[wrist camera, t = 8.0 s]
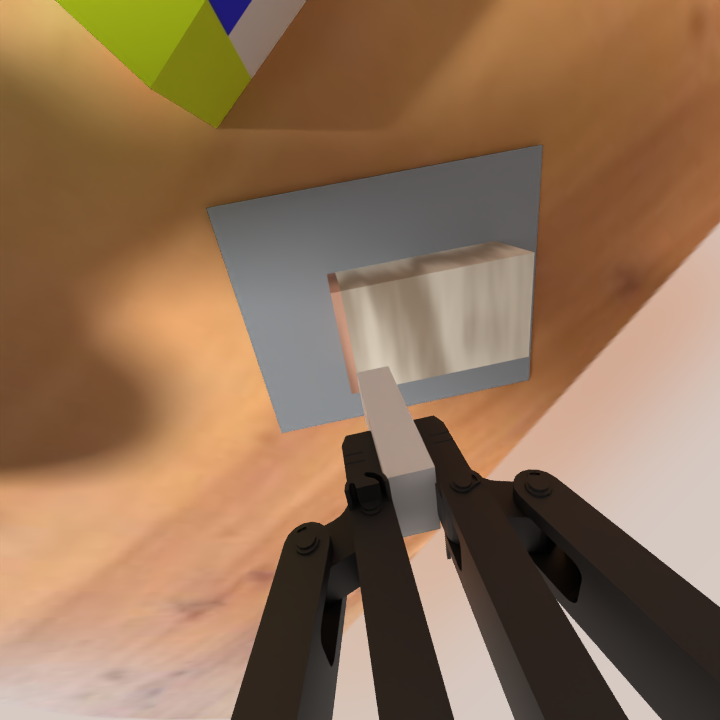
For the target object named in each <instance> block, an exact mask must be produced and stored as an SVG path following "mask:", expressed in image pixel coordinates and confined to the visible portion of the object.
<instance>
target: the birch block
mask: <svg viewBox="0 0 720 720" xmlns="http://www.w3.org/2000/svg"><path fill="white" fill-rule="evenodd" d="M533 271H534V252H531V251H528V250H524V249H521V248H518V247H514V246H511V245H508V244H505V243H501V242H498V241H492V242H486V243H481V244H476V245H471V246H466V247H461V248H456V249H451V250H446V251H441V252H436V253H431V254H426V255H421V256H416V257H411V258H406V259H401V260H396V261H391V262H386V263H381V264H376V265H370V266H365V267H360V268H355V269H350V270H345V271H340V272H335V273H330V274H327V278H328V283H329V288H330V293H331V298H332V303H333V308H334V312H335V317H336V322H337V327H338V331H339V336H340V341H341V346H342V350H343V355H344V360H345V365H346V369H347V374H348V379H349V384H350V388H351V393H352V394H355V393H360V389H359V384H358V379H357V374H356V373H358V372H362V371H367V370H372V369H376V368H381V367H386V366H389V369H390V371H391V373H392V375H393V377H394V379H395V382H396V384H402V383H407V382H412V381H416V380H421V379H426V378H430V377H435V376H440V375H445V374H449V373H454V372H459V371H463V370H468V369H473V368H478V367H482V366H487V365H492V364H496V363H501V362H506V361H511V360H515V359H520V358H525V357H529V342H530V324H531V306H532V289H533Z"/></svg>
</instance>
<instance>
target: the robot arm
mask: <svg viewBox="0 0 720 720" xmlns="http://www.w3.org/2000/svg"><path fill="white" fill-rule="evenodd" d="M356 374H357V379H358V384H359V389H360V394H361V400H362V405H363V410H364V415H365V420H366V424H367V428H368V431H366V432H362V433H357V434H353V435H348V436H346V437H345V439H344V442H343V444H342V450H343V457H344V464H345V471H346V478H347V482H346V484H345V495H346V499H347V502H348V506H347V508H346V509H345V511H344V512H343V513H342V514H341V516H340V517H338V518H337V519H335V520H334V521H332V522H330V523H329V524H327V525H325V526H323V525H322V524H320V523H316V522H309V523H304V524H302V525H300V526H298V527H296V528H295V529H294V530H293V531H292V532H291V533H290V534H289V535H288V537H287V539H286V541H285V543H284V546H283V549H282V553H281V556H280V559H279V563H278V566H277V569H276V573H275V576H274V579H273V582H272V586H271V589H270V592H269V596H268V599H267V602H266V605H265V609H264V612H263V615H262V619H261V622H260V625H259V629H258V632H257V635H256V638H255V642H254V645H253V648H252V652H251V655H250V658H249V661H248V665H247V668H246V671H245V675H244V678H243V681H242V685H241V688H240V691H239V694H238V698H237V701H236V704H235V708H234V711H233V714H232V717H231V720H332V716H333V708H334V699H335V691H336V683H337V674H338V666H339V657H340V650H341V641H342V633H343V625H344V616H345V608H346V600H347V595H348V594H350V593H351V592H353V591H354V590H356V589H357V588H359V587H361V594H362V602H363V609H364V615H365V623H366V630H367V636H368V644H369V651H370V658H371V665H372V672H373V679H374V686H375V693H376V700H377V707H378V715H379V720H454V717H453V714H452V710H451V707H450V703H449V699H448V696H447V692H446V689H445V685H444V682H443V678H442V675H441V671H440V667H439V664H438V660H437V657H436V653H435V650H434V646H433V643H432V639H431V635H430V632H429V629H428V625H427V621H426V618H425V614H424V611H423V607H422V604H421V600H420V597H419V593H418V590H417V586H416V583H415V579H414V575H413V572H412V568H411V564H410V561H409V557H408V554H407V550H406V547H405V543H404V540H403V537H407V536H411V535H415V534H419V533H424V532H428V531H432V530H436V529H440V521H441V524H442V526H443V528H444V531H445V541H446V552H447V558H448V559H451V557H452V560H453V563H454V565H455V568H456V570H457V573H458V575H459V578H460V580H461V583H462V586H463V588H464V591H465V593H466V596H467V598H468V601H469V604H470V606H471V609H472V611H473V614H474V616H475V619H476V621H477V624H478V627H479V629H480V631H481V634H482V637H483V639H484V642H485V644H486V647H487V650H488V652H489V655H490V657H491V660H492V662H493V665H494V667H495V670H496V673H497V675H498V678H499V680H500V683H501V685H502V688H503V691H504V693H505V696H506V698H507V701H508V703H509V706H510V708H511V711H512V714H513V716H514V719H515V720H629V719H628V718H627V716H626V715H625V713H624V711H623V710H622V708H621V706H620V705H619V703H618V701H617V700H616V698H615V696H614V695H613V693H612V691H611V690H610V688H609V686H608V685H607V683H606V681H605V680H604V678H603V677H602V675H601V673H600V671H599V670H598V668H597V666H596V665H595V663H594V662H593V660H592V658H591V656H590V655H589V653H588V651H587V650H586V648H585V646H584V645H583V643H582V642H581V640H580V638H579V637H578V635H577V633H576V632H575V630H574V628H573V627H572V625H571V624H570V622H569V620H568V618H567V617H566V615H565V613H564V612H563V610H562V608H561V607H560V605H559V603H560V604H561V605H562V606H563V607H564V609H565V610H566V611H567V612H568V613H569V614H570V616H571V617H572V618H573V619H574V620H575V621H576V622H577V623H578V625H579V626H580V627H581V628H582V629H583V630H584V631H585V632H586V634H587V635H588V636H589V637H590V638H591V639H592V641H593V642H594V643H595V644H596V645H597V646H598V647H599V648H600V650H601V651H602V652H603V653H604V654H605V655H606V657H607V658H608V659H609V660H610V661H611V662H612V663H613V664H614V665H615V667H616V668H617V669H618V670H619V671H620V672H621V674H622V675H623V676H624V677H625V678H626V679H627V680H628V681H629V683H630V684H631V685H632V686H633V687H634V688H635V690H636V691H637V692H638V693H639V694H640V695H641V696H642V698H643V699H644V700H645V701H646V702H647V703H648V704H649V705H650V707H651V708H652V709H653V710H654V711H655V712H656V713H657V715H658V716H659V717H660V718H661V719H662V720H720V607H719V606H718V605H716V604H715V603H714V602H712V601H711V600H710V599H709V598H708V597H706V596H705V595H704V594H702V593H701V592H700V591H699V590H697V589H696V588H695V587H693V586H692V585H691V584H690V583H689V582H687V581H686V580H685V579H684V578H682V577H681V576H680V575H678V574H677V573H676V572H675V571H673V570H672V569H671V568H670V567H668V566H667V565H666V564H664V563H663V562H662V561H661V560H659V559H658V558H657V557H656V556H654V555H653V554H652V553H651V552H649V551H648V550H647V549H646V548H644V547H643V546H642V545H641V544H639V543H638V542H637V541H635V540H634V539H633V538H632V537H630V536H629V535H628V534H626V533H625V532H624V531H623V530H622V529H620V528H619V527H618V526H616V525H615V524H614V523H613V522H611V521H610V520H609V519H607V518H606V517H605V516H604V515H603V514H601V513H600V512H599V511H597V510H596V509H595V508H594V507H592V506H591V505H590V504H589V503H587V502H586V501H585V500H584V499H582V498H581V497H580V496H579V495H577V494H576V493H575V492H573V491H572V490H571V489H570V488H568V487H567V486H566V485H565V484H563V483H562V482H561V481H559V480H558V479H557V478H556V477H554V476H552V475H551V474H549V473H547V472H544V471H540V470H525V471H522V472H520V473H519V474H517V475H516V476H515V479H514V481H513V482H510V481H493V480H488V479H485V478H482V477H481V476H480V475H479V473H477V472H475V471H473V470H471V468H470V467H469V465H468V464H467V462H466V460H465V458H464V457H463V455H462V453H461V452H460V450H459V448H458V446H457V445H456V443H455V441H454V440H453V438H452V436H451V434H450V433H449V431H448V429H447V428H446V426H445V424H444V422H442V421H441V420H439V419H438V418H437V417H435V416H429V417H425V418H420V419H416V420H413V419H412V416H411V414H410V412H409V410H408V408H407V406H406V403H405V401H404V399H403V397H402V395H401V392H400V390H399V388H398V386H397V384H396V382H395V379H394V377H393V375H392V373H391V371H390V369H389V366H386V367H381V368H376V369H372V370H367V371H362V372H358V373H356ZM557 601H558V602H559V603H558V602H557Z"/></svg>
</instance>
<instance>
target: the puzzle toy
mask: <svg viewBox="0 0 720 720" xmlns="http://www.w3.org/2000/svg"><path fill="white" fill-rule="evenodd" d="M55 1H57V2H58V3H59V4H60V5H61V6H62V7H63V8H64V9H65V10H66V11H67V12H68V13H69V14H71V15H72V16H73V17H74V18H75V19H76V20H77V21H78V22H79V23H80V24H81V25H82V26H83V27H85V28H86V29H87V30H88V31H89V32H90V33H91V34H92V35H93V36H94V37H95V38H96V39H97V40H99V41H100V42H101V43H102V44H103V45H104V46H105V47H106V48H107V49H108V50H109V51H110V52H111V53H113V54H114V55H115V56H116V57H117V58H118V59H119V60H120V61H121V62H122V63H123V64H124V65H125V66H127V67H128V68H129V69H130V70H131V71H132V72H133V73H134V74H135V75H136V76H137V77H138V78H139V79H141V80H142V81H143V82H144V83H145V84H146V85H147V86H148V87H149V88H150V89H152V90H154V91H155V92H157V93H159V94H160V95H162V96H164V97H165V98H167V99H169V100H170V101H172V102H174V103H175V104H177V105H179V106H180V107H182V108H183V109H185V110H187V111H188V112H190V113H192V114H193V115H195V116H197V117H198V118H200V119H202V120H203V121H205V122H207V123H208V124H210V125H212V126H213V127H215V128H218V126H219V125H220V123H221V122H222V120H223V119H224V118H225V116H226V115H227V113H228V112H229V111H230V109H231V108H232V106H233V105H234V103H235V102H236V101H237V99H238V98H239V96H240V95H241V93H242V92H243V91H244V89H245V88H246V86H247V85H248V83H249V82H250V81H251V79H252V78H253V76H254V75H255V73H256V72H257V71H258V69H259V68H260V66H261V65H262V64H263V62H264V61H265V59H266V58H267V56H268V55H269V54H270V52H271V51H272V49H273V48H274V46H275V45H276V44H277V42H278V41H279V39H280V38H281V36H282V35H283V34H284V32H285V31H286V29H287V28H288V27H289V25H290V24H291V22H292V21H293V19H294V18H295V17H296V15H297V14H298V12H299V11H300V9H301V8H302V7H303V5H304V4H305V2H306V1H307V0H55Z"/></svg>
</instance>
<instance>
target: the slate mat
mask: <svg viewBox="0 0 720 720" xmlns="http://www.w3.org/2000/svg"><path fill="white" fill-rule="evenodd" d="M542 149H543V145H537V146H532V147H527V148H521V149H516V150H511V151H505V152H500V153H495V154H490V155H484V156H479V157H474V158H468V159H463V160H458V161H452V162H447V163H442V164H437V165H431V166H426V167H421V168H415V169H410V170H405V171H399V172H394V173H389V174H383V175H378V176H373V177H368V178H362V179H357V180H352V181H346V182H341V183H336V184H330V185H325V186H320V187H315V188H309V189H304V190H299V191H293V192H288V193H283V194H277V195H272V196H267V197H261V198H256V199H251V200H246V201H240V202H235V203H230V204H224V205H219V206H214V207H208V208H206V209H207V212H208V215H209V218H210V221H211V224H212V227H213V230H214V233H215V236H216V239H217V242H218V245H219V248H220V251H221V254H222V257H223V260H224V263H225V266H226V269H227V272H228V275H229V278H230V281H231V284H232V286H233V289H234V292H235V295H236V298H237V301H238V304H239V307H240V310H241V313H242V316H243V319H244V322H245V325H246V328H247V331H248V334H249V337H250V340H251V343H252V346H253V349H254V352H255V355H256V358H257V361H258V364H259V367H260V370H261V373H262V376H263V379H264V381H265V384H266V387H267V390H268V393H269V396H270V399H271V402H272V405H273V408H274V411H275V414H276V417H277V420H278V423H279V426H280V429H281V432H282V433H285V432H289V431H294V430H299V429H303V428H308V427H313V426H317V425H322V424H327V423H331V422H336V421H341V420H345V419H350V418H355V417H359V416H364V410H363V405H362V400H361V394H360V393H355V394H352V393H351V388H350V384H349V379H348V374H347V369H346V365H345V360H344V355H343V350H342V346H341V341H340V336H339V331H338V327H337V322H336V317H335V312H334V308H333V303H332V298H331V293H330V288H329V283H328V278H327V274H330V273H335V272H340V271H345V270H350V269H355V268H360V267H365V266H370V265H376V264H381V263H386V262H391V261H396V260H401V259H406V258H411V257H416V256H421V255H426V254H431V253H436V252H441V251H446V250H451V249H456V248H461V247H466V246H471V245H476V244H481V243H486V242H492V241H498V242H501V243H505V244H508V245H511V246H514V247H518V248H521V249H524V250H528V251H531V252H534V271H533V289H532V306H531V324H530V342H529V357H525V358H520V359H515V360H511V361H506V362H501V363H496V364H492V365H487V366H482V367H478V368H473V369H468V370H463V371H459V372H454V373H449V374H445V375H440V376H435V377H430V378H426V379H421V380H416V381H412V382H407V383H402V384H397V386H398V388H399V390H400V392H401V395H402V397H403V399H404V401H405V403H406V406H411V405H415V404H420V403H424V402H429V401H434V400H438V399H443V398H448V397H452V396H457V395H462V394H466V393H471V392H476V391H480V390H485V389H490V388H494V387H499V386H504V385H508V384H513V383H518V382H522V381H527V380H529V372H530V354H531V337H532V320H533V303H534V286H535V269H536V252H537V235H538V217H539V200H540V183H541V166H542Z"/></svg>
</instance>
